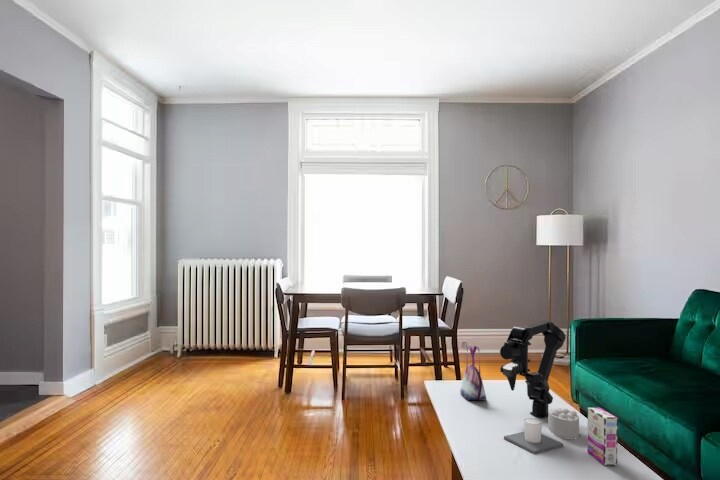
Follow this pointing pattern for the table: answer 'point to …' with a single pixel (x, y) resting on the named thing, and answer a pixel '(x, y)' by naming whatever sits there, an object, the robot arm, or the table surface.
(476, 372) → the handbag
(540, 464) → the table surface
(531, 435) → the shot glass
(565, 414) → the lumpy-topped squat cylinder
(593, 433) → the candy bar box
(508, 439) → the charcoal mat
